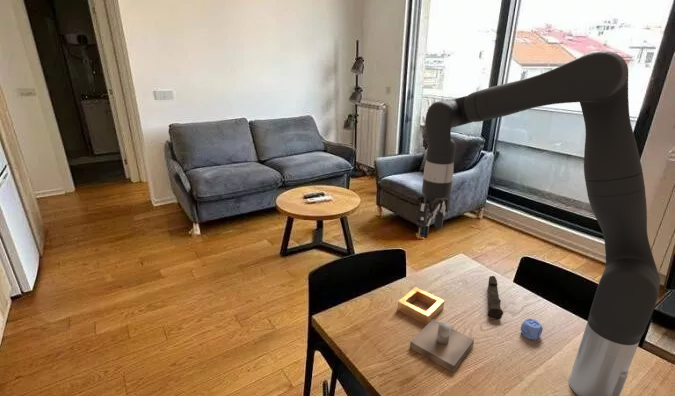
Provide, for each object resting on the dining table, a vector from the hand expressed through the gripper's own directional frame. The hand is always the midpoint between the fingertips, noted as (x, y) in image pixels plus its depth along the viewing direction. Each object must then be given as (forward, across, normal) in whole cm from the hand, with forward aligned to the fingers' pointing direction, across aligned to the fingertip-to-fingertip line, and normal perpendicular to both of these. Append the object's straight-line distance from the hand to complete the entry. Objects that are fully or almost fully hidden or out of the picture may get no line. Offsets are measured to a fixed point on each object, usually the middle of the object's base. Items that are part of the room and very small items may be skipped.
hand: (431, 232), depth 104 cm
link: (+25, -2, 0) cm, 25 cm away
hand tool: (+26, +17, -15) cm, 34 cm away
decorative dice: (+25, +9, -29) cm, 39 cm away
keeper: (+25, -12, -12) cm, 30 cm away
